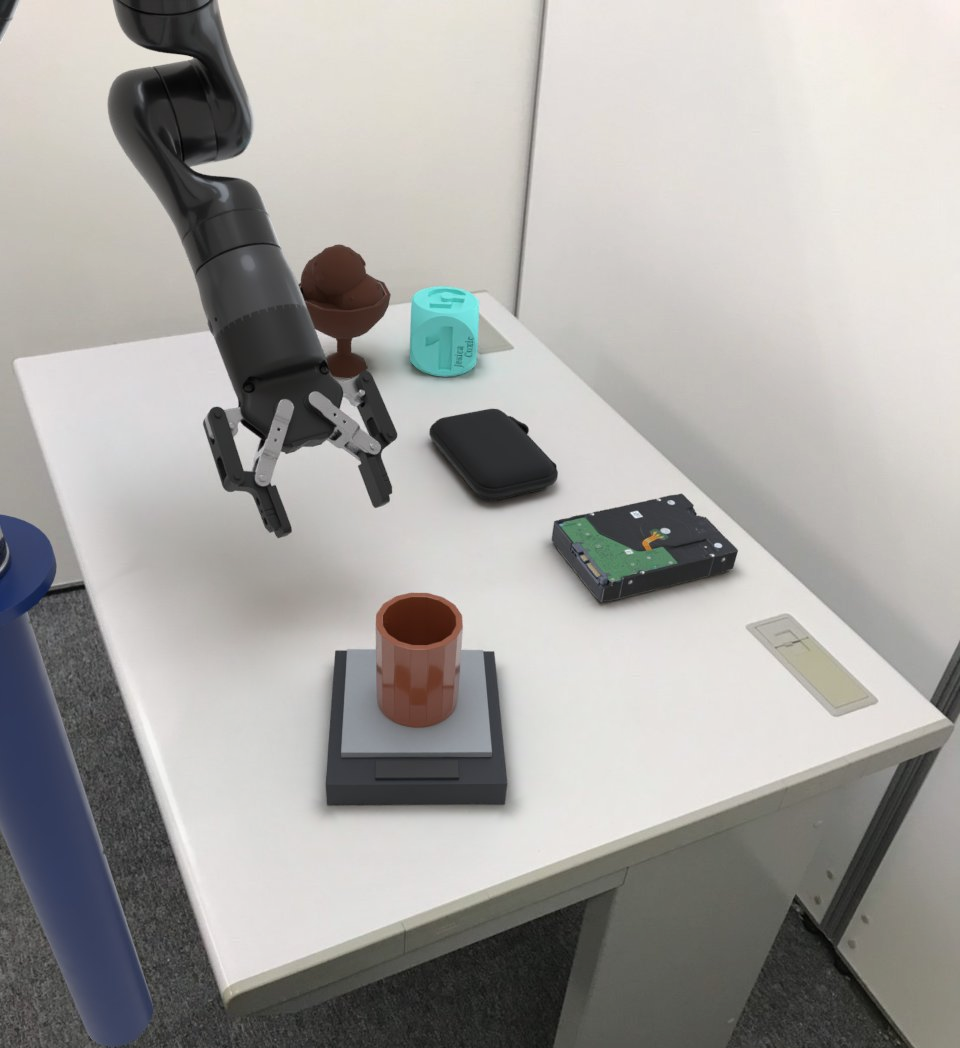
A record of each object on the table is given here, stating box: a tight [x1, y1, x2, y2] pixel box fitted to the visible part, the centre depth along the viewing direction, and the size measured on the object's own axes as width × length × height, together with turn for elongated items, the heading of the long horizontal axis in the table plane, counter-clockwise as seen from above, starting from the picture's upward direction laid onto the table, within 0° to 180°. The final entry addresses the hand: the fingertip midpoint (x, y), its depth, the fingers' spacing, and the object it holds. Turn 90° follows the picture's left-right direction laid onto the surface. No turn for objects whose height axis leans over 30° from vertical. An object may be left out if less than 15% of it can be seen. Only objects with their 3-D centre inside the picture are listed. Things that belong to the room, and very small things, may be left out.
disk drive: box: [551, 493, 739, 603], centre depth 96 cm, size 10×3×15 cm
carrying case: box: [428, 408, 559, 502], centre depth 107 cm, size 11×3×15 cm
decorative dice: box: [409, 285, 480, 378], centre depth 122 cm, size 8×8×8 cm
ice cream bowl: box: [298, 244, 391, 379], centre depth 117 cm, size 11×11×15 cm
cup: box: [375, 592, 464, 728], centre depth 74 cm, size 6×6×8 cm
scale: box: [325, 648, 508, 807], centre depth 77 cm, size 13×14×3 cm
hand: (335, 519), depth 78 cm, fingers open, 8 cm apart
